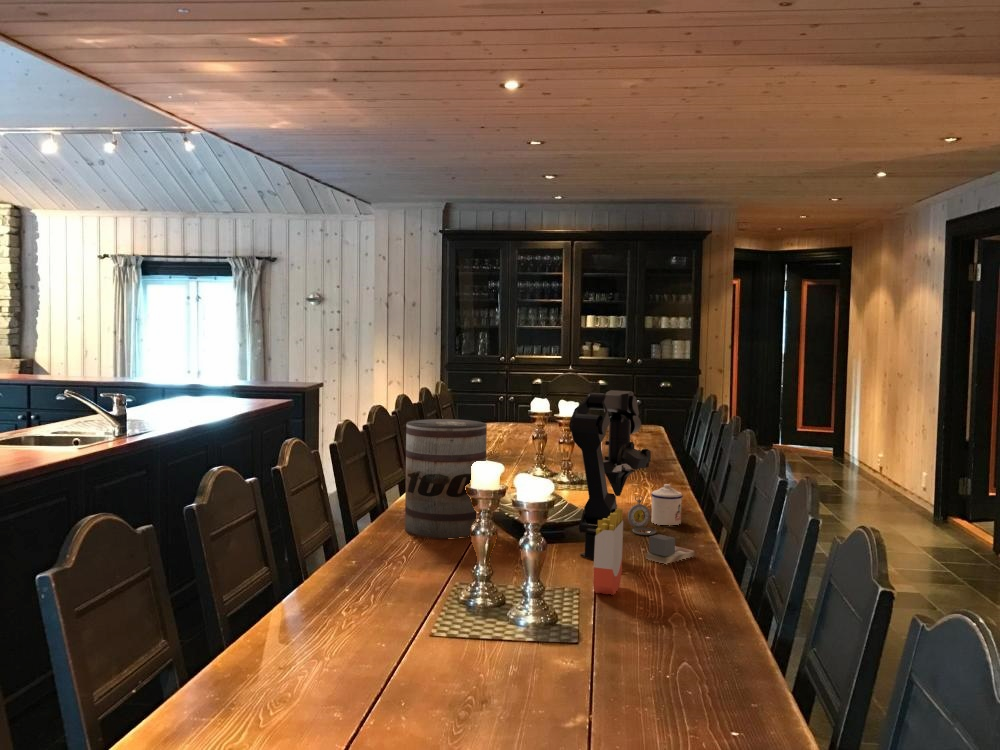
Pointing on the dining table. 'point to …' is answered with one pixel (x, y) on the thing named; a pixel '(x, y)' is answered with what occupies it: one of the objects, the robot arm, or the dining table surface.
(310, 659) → the dining table surface
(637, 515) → the pocket watch
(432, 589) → the dining table surface
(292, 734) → the dining table surface
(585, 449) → the robot arm
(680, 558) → the cream flat rectangular block
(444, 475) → the barrel
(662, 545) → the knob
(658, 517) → the teacup with lid
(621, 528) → the french fries container
